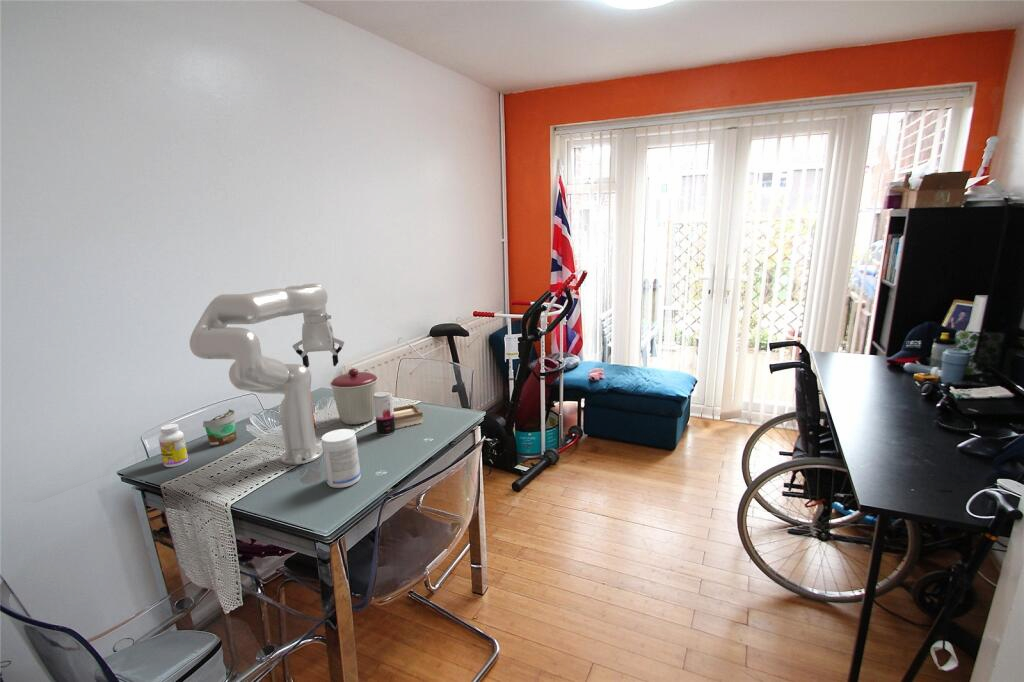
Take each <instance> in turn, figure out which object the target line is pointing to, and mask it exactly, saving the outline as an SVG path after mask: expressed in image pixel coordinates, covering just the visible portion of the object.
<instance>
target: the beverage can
mask: <svg viewBox="0 0 1024 682" xmlns="http://www.w3.org/2000/svg"><path fill="white" fill-rule="evenodd" d="M374 407H375V416H374V418H375V424H376V425H375V426H376V433H377V434H378V435H379V436H389V435H392V434H394V433H395V431H396V429H395V422H394V410H393V408H394V399H393V393H392V392H391V391H390V390H381V391H377V392H376V393H375V394H374Z"/></svg>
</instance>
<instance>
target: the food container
mask: <svg viewBox="0 0 1024 682" xmlns="http://www.w3.org/2000/svg"><path fill="white" fill-rule="evenodd" d="M237 418H238V415H237V413H236V411H234V410H233V409H229V408H228V412H225V413H224V414H220V415H217V416H215V417H214V418H212V419H211V420H204V421H203V423H202V426H203V428H205V431H206V435H207V436H206V437H207V439H208V443H209V446H210V447H211V446H216V447H221V445H222V446H226V445H229V444H231V443H233V442H235V441H236V440H237V431H236V430H237V429H236V427H237V426H236V425H237V424H236V419H237ZM225 444H226V445H225Z"/></svg>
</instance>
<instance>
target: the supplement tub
mask: <svg viewBox="0 0 1024 682" xmlns="http://www.w3.org/2000/svg"><path fill="white" fill-rule="evenodd" d="M356 436H357V435H356V432H355V430H353V429H349V428H340V429H334V430H330V431H328V432H326V433H325V434H322V436H321V438H320V439H321V448H322V456H323V463H324V464H323V465H324V470H325V479H326V483H327V485H328V486H329V487H331V488H336V489H341V488H342V489H343V488H347V487H348V488H349V487H351V486H353V485H354V484H356V483H357V482H358V481H359V480H360V479H361V476H362V475H361V467H360V466H361V465H360V459H359V450H358V444H357V443H358V442H357V437H356Z"/></svg>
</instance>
